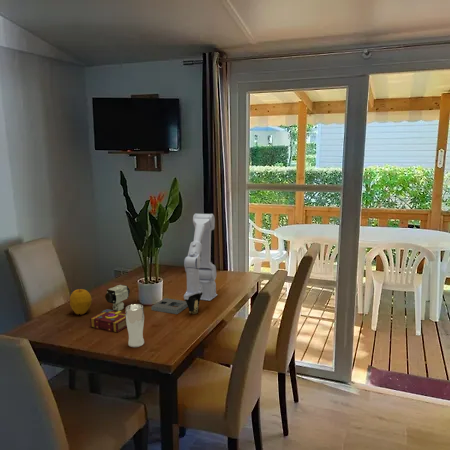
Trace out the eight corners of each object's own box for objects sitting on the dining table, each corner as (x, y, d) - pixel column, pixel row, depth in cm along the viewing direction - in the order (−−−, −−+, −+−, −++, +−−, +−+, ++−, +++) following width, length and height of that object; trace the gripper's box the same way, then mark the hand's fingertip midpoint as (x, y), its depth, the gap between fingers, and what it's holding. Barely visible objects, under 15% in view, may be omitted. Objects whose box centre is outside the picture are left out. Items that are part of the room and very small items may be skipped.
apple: (96, 310, 191) (94, 286, 189) (84, 318, 181) (82, 293, 179) (78, 308, 193) (77, 285, 191) (66, 316, 184) (64, 291, 182)
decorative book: (117, 333, 165) (117, 322, 164) (87, 327, 172) (86, 316, 171) (134, 323, 175) (133, 312, 174) (105, 317, 182) (104, 307, 181)
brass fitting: (191, 310, 189) (191, 298, 188) (199, 311, 187) (199, 299, 186) (187, 313, 185) (187, 300, 184) (195, 314, 184) (195, 301, 183)
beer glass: (138, 349, 151) (136, 311, 148) (123, 346, 153) (121, 309, 151) (148, 341, 157) (147, 305, 155) (133, 338, 160) (131, 303, 157)
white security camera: (105, 312, 187) (104, 288, 185) (124, 304, 197) (122, 281, 195) (114, 314, 185) (112, 290, 183) (132, 306, 194) (130, 283, 192)
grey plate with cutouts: (164, 301, 201) (164, 298, 200) (189, 305, 195) (189, 301, 195) (151, 310, 190) (151, 306, 189) (177, 314, 184) (177, 310, 184)
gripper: (193, 286, 176) (194, 316, 178) (207, 277, 189) (208, 305, 191) (179, 285, 179) (180, 313, 181) (194, 276, 192) (195, 303, 194)
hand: (193, 309), depth 186 cm, fingers closed on brass fitting, 4 cm apart
